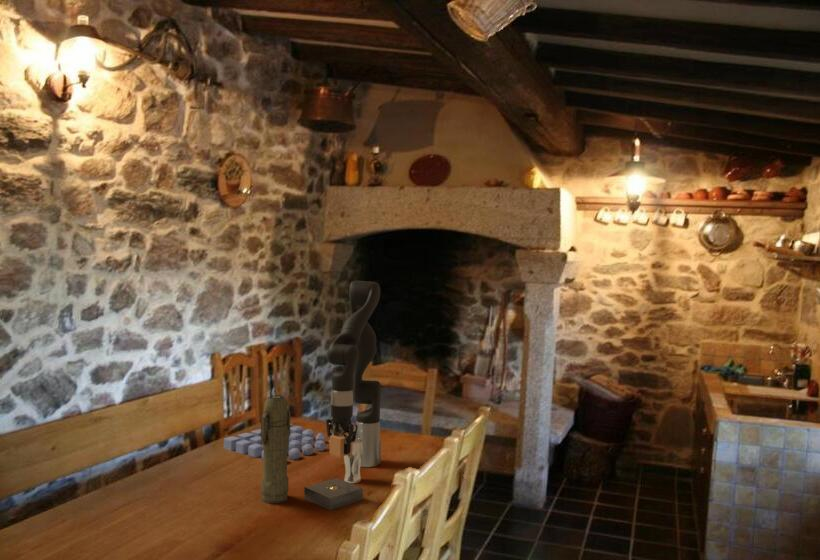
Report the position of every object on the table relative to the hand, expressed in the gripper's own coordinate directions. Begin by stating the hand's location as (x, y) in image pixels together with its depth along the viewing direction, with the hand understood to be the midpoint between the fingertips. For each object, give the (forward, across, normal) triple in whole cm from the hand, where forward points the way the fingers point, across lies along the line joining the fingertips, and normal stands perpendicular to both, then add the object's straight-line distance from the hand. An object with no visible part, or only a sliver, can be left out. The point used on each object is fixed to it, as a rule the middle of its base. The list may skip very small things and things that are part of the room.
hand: (340, 451), depth 238 cm
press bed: (+16, +1, +2) cm, 16 cm away
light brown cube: (+1, 0, 0) cm, 1 cm away
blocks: (+16, +62, -21) cm, 67 cm away
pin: (+16, +1, +2) cm, 16 cm away
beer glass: (+16, +11, -15) cm, 25 cm away
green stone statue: (+16, +15, +16) cm, 27 cm away
